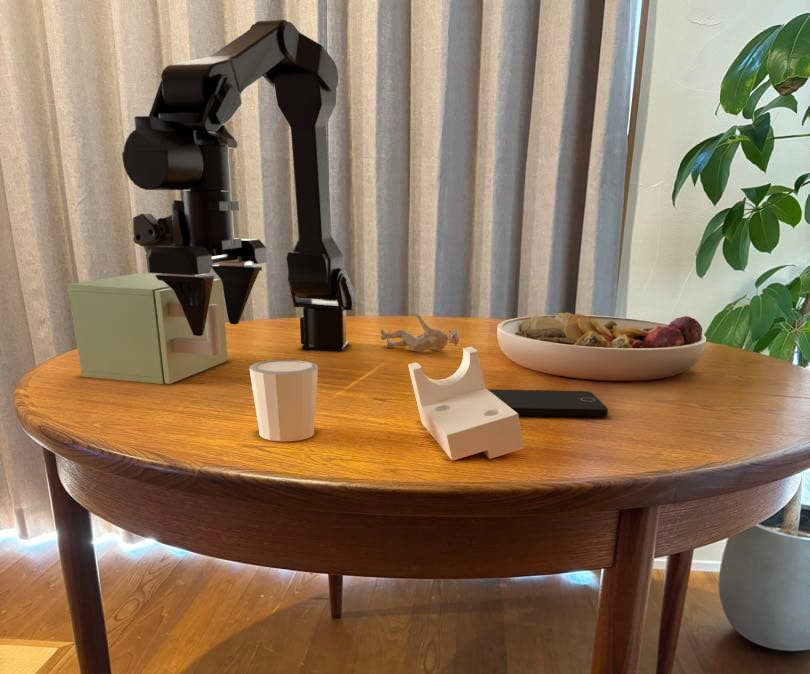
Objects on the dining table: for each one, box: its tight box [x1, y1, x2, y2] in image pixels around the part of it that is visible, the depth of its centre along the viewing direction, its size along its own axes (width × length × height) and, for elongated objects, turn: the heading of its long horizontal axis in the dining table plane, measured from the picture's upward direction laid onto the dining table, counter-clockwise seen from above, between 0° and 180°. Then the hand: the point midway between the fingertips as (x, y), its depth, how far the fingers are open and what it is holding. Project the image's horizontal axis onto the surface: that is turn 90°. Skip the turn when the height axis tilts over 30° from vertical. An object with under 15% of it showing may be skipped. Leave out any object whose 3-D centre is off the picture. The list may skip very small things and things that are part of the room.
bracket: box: [407, 345, 525, 461], centre depth 77 cm, size 13×7×8 cm, turn 12°
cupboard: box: [67, 272, 216, 385], centre depth 103 cm, size 12×16×12 cm
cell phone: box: [487, 388, 609, 418], centre depth 90 cm, size 9×18×1 cm, turn 91°
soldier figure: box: [380, 313, 460, 353], centre depth 120 cm, size 8×5×12 cm
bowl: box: [496, 311, 707, 382], centre depth 113 cm, size 30×30×8 cm
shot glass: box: [249, 359, 319, 442], centre depth 77 cm, size 7×7×7 cm
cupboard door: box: [155, 278, 229, 385], centre depth 101 cm, size 7×16×11 cm, turn 165°
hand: (216, 329), depth 94 cm, fingers open, 9 cm apart
